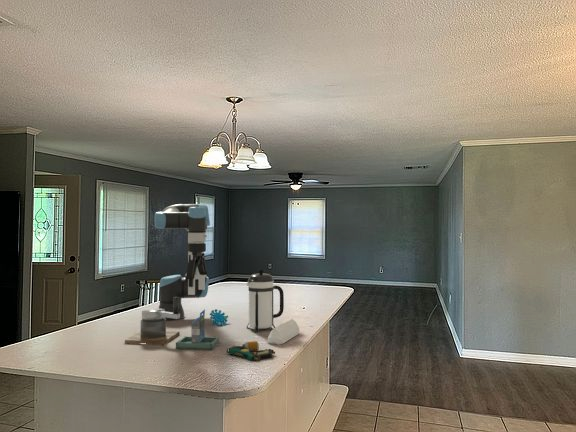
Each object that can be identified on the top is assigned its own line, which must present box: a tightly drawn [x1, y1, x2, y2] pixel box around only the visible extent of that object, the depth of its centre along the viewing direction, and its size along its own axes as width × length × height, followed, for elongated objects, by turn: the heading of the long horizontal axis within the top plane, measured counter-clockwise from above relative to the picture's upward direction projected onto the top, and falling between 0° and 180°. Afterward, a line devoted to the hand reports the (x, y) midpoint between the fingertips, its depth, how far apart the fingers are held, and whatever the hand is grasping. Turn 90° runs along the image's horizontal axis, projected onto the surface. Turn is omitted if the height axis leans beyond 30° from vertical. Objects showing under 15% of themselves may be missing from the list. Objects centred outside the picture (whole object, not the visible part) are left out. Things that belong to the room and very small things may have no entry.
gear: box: [209, 309, 229, 327], centre depth 226 cm, size 11×6×10 cm
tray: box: [175, 336, 220, 351], centre depth 185 cm, size 11×16×2 cm
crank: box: [141, 297, 180, 322], centre depth 194 cm, size 20×10×11 cm, turn 60°
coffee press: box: [246, 268, 285, 333], centre depth 216 cm, size 17×16×30 cm
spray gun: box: [226, 340, 276, 362], centre depth 172 cm, size 4×17×15 cm
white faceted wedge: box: [266, 318, 300, 345], centre depth 197 cm, size 7×7×24 cm
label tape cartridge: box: [190, 309, 206, 343], centre depth 185 cm, size 9×4×12 cm, turn 178°
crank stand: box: [124, 319, 181, 345], centre depth 197 cm, size 18×18×8 cm
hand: (196, 292), depth 187 cm, fingers open, 13 cm apart
